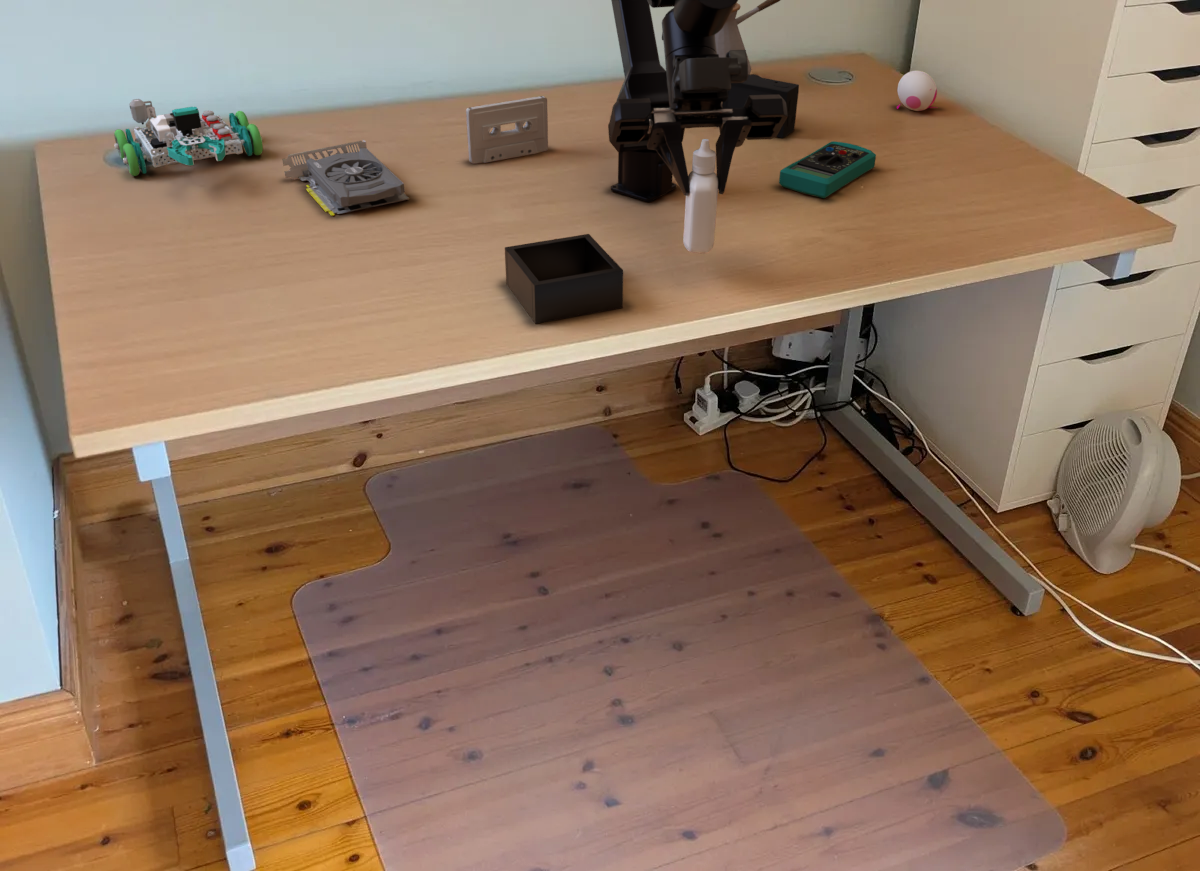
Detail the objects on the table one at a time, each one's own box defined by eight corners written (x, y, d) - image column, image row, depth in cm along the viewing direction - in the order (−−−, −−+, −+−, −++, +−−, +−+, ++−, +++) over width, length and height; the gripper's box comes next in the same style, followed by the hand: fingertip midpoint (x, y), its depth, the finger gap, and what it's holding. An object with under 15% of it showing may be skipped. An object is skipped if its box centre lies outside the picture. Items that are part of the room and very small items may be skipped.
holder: (506, 283, 127) (504, 247, 125) (588, 269, 131) (588, 233, 128) (535, 324, 120) (534, 285, 117) (622, 307, 123) (623, 270, 120)
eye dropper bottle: (669, 248, 126) (674, 143, 119) (693, 230, 130) (699, 128, 123) (704, 257, 124) (711, 152, 117) (727, 239, 128) (735, 136, 121)
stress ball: (926, 137, 177) (958, 103, 174) (889, 107, 175) (920, 73, 172) (918, 119, 184) (948, 86, 180) (881, 90, 181) (911, 56, 178)
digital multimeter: (876, 168, 157) (880, 148, 156) (825, 201, 148) (828, 180, 146) (829, 157, 161) (832, 136, 159) (776, 188, 151) (778, 167, 150)
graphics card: (279, 153, 151) (365, 136, 156) (284, 180, 153) (368, 162, 158) (318, 198, 139) (410, 178, 144) (323, 226, 141) (413, 206, 146)
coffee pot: (701, 100, 181) (707, 2, 173) (668, 80, 190) (672, -14, 181) (813, 84, 189) (824, -11, 180) (776, 65, 197) (785, -26, 189)
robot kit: (148, 213, 143) (131, 141, 138) (112, 150, 161) (96, 84, 156) (293, 186, 151) (282, 117, 145) (243, 129, 169) (232, 65, 163)
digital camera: (798, 128, 171) (803, 81, 167) (783, 138, 167) (788, 91, 163) (736, 115, 175) (740, 70, 171) (720, 125, 172) (723, 79, 168)
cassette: (472, 165, 157) (469, 111, 153) (467, 161, 158) (463, 107, 154) (550, 151, 162) (549, 98, 158) (544, 147, 163) (543, 94, 159)
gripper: (614, 22, 116) (627, 166, 113) (792, 18, 118) (809, 159, 115) (604, 75, 127) (615, 207, 124) (767, 70, 129) (781, 201, 126)
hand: (704, 193), depth 122 cm, fingers closed on eye dropper bottle, 3 cm apart
